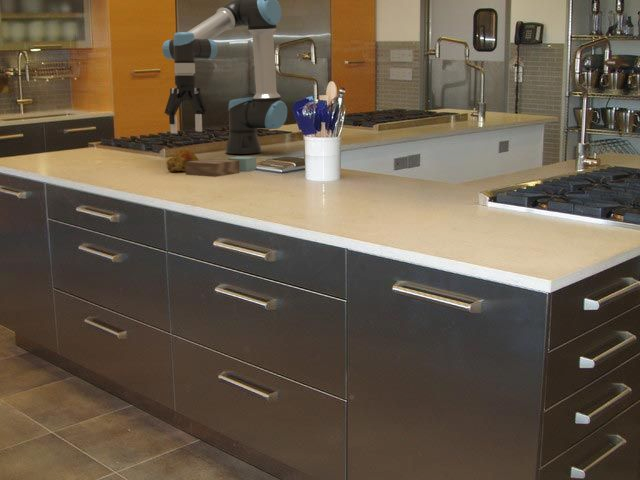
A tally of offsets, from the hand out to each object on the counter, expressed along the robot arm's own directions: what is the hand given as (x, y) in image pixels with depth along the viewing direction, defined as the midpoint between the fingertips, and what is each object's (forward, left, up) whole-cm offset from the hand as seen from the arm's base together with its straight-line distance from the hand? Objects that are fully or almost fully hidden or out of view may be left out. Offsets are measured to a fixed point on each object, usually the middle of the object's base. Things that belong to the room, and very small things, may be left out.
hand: (186, 132), depth 334 cm
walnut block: (+1, +13, -15) cm, 20 cm away
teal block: (-14, +15, -15) cm, 25 cm away
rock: (-3, 0, -15) cm, 15 cm away
